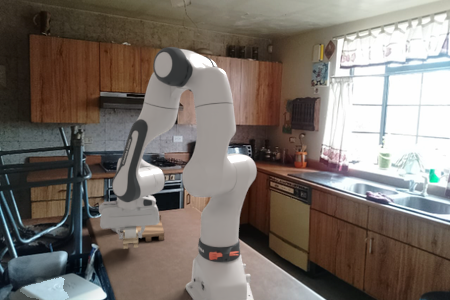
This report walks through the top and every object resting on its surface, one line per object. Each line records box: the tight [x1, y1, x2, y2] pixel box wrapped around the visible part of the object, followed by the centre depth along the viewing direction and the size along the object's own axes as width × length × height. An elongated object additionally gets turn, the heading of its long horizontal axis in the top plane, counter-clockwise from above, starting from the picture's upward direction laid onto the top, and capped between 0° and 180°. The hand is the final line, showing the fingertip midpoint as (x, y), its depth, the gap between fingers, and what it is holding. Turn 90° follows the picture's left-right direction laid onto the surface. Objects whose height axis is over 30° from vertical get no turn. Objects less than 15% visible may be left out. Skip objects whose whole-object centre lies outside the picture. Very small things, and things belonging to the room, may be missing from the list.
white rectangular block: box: [125, 226, 136, 238], centre depth 118 cm, size 7×4×3 cm, turn 16°
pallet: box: [122, 229, 139, 250], centre depth 118 cm, size 10×5×3 cm, turn 16°
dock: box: [136, 214, 165, 242], centre depth 135 cm, size 16×12×5 cm
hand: (130, 238), depth 118 cm, fingers closed on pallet, 5 cm apart
